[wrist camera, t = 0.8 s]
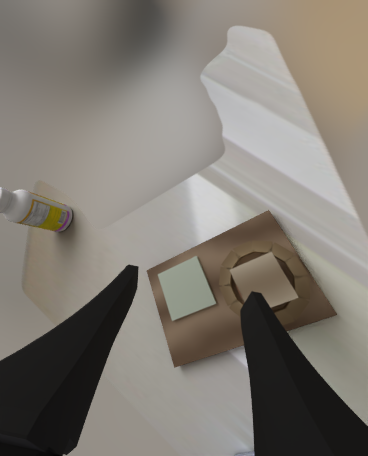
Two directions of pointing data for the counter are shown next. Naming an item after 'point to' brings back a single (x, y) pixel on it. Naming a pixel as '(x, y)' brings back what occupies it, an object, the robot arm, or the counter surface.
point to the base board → (228, 294)
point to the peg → (263, 280)
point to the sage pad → (186, 288)
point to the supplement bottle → (34, 210)
